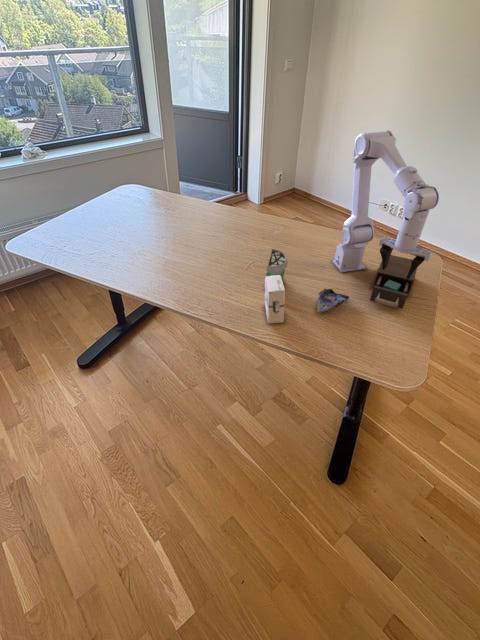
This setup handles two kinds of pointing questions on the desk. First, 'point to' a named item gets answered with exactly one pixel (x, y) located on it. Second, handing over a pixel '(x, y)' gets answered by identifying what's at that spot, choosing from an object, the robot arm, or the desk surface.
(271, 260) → the food container
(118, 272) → the desk surface
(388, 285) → the block
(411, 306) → the desk surface
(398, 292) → the drawer
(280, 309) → the ink box
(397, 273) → the cabinet
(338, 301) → the snack package
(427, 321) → the desk surface
